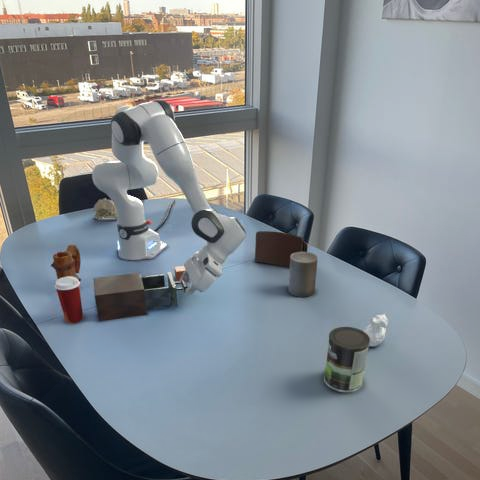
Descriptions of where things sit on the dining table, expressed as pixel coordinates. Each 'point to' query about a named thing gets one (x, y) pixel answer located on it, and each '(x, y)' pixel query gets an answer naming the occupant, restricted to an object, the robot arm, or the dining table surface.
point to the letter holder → (277, 247)
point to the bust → (377, 330)
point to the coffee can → (346, 359)
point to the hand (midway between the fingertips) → (183, 288)
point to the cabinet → (119, 296)
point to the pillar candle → (302, 274)
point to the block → (180, 273)
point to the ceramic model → (105, 210)
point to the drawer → (161, 291)
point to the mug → (67, 262)
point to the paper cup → (70, 298)
